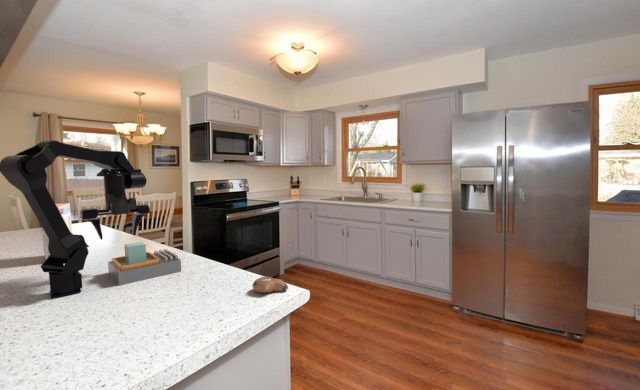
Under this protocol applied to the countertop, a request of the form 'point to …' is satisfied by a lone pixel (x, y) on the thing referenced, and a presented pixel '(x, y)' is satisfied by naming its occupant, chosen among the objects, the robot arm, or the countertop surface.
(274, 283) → the brown rounded lump
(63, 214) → the cracker box
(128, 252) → the mint green box
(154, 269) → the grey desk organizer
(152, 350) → the countertop surface
